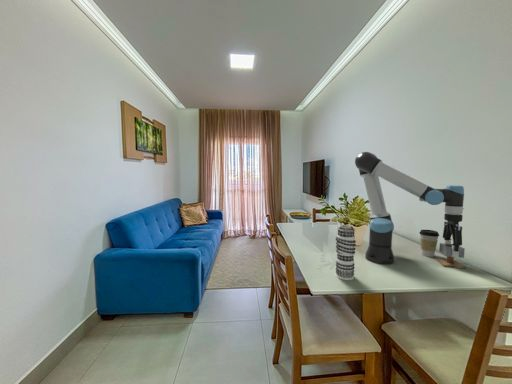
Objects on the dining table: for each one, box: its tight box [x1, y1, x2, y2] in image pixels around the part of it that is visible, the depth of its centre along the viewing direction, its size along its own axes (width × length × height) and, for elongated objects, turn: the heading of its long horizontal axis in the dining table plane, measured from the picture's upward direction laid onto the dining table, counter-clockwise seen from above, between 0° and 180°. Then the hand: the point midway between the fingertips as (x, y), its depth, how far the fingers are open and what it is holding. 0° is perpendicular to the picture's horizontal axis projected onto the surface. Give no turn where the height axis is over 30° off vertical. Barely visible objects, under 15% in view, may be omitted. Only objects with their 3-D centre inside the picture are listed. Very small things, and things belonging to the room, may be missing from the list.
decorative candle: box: [335, 224, 357, 281], centre depth 112 cm, size 9×9×25 cm
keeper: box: [434, 256, 467, 269], centre depth 128 cm, size 10×10×9 cm
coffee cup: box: [418, 229, 440, 258], centre depth 142 cm, size 10×10×15 cm
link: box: [438, 242, 466, 259], centre depth 128 cm, size 8×8×5 cm
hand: (451, 254), depth 128 cm, fingers closed on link, 8 cm apart
